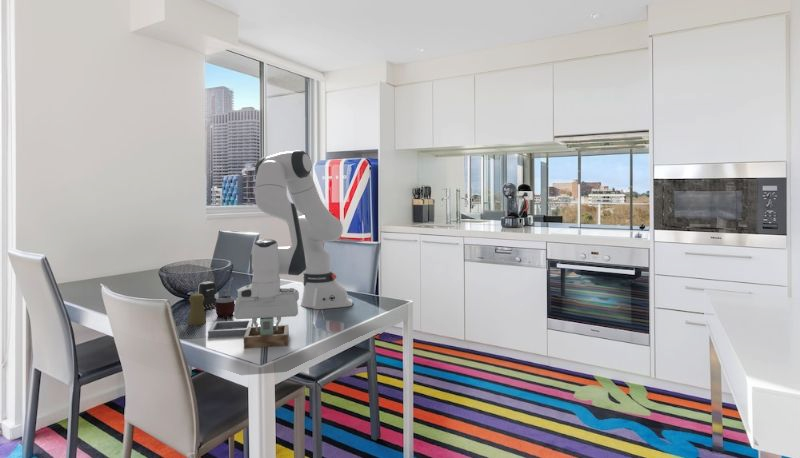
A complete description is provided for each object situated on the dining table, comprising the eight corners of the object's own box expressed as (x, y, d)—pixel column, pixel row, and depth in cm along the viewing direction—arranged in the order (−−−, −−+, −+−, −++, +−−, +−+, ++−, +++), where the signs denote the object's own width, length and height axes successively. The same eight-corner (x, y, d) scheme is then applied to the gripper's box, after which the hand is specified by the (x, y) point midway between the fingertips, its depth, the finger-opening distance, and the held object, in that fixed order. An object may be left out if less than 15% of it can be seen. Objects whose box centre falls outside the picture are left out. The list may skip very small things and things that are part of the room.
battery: (203, 311, 184) (202, 284, 183) (197, 310, 186) (196, 283, 185) (218, 308, 190) (217, 281, 189) (212, 306, 192) (212, 280, 191)
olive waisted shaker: (200, 319, 173) (199, 291, 172) (209, 322, 169) (208, 293, 168) (185, 323, 168) (184, 294, 167) (194, 326, 164) (193, 296, 163)
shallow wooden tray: (288, 334, 156) (288, 324, 156) (287, 345, 145) (287, 334, 144) (248, 336, 153) (247, 326, 153) (243, 348, 142) (243, 337, 142)
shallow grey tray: (253, 325, 166) (253, 319, 165) (249, 335, 155) (249, 329, 154) (214, 327, 163) (214, 321, 163) (208, 337, 152) (208, 331, 152)
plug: (273, 338, 151) (273, 315, 151) (273, 343, 147) (272, 319, 146) (261, 339, 150) (261, 316, 150) (260, 344, 146) (259, 320, 145)
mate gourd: (216, 320, 172) (215, 281, 171) (214, 315, 179) (213, 278, 178) (237, 318, 175) (236, 280, 174) (234, 313, 182) (233, 276, 181)
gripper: (298, 285, 153) (299, 325, 154) (235, 288, 148) (236, 329, 149) (298, 290, 147) (299, 331, 148) (232, 292, 142) (233, 335, 143)
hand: (267, 330), depth 149 cm, fingers closed on plug, 4 cm apart
